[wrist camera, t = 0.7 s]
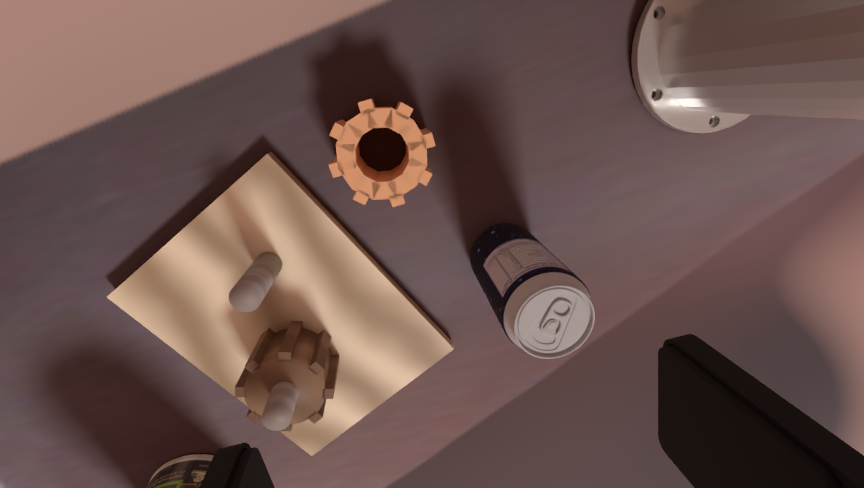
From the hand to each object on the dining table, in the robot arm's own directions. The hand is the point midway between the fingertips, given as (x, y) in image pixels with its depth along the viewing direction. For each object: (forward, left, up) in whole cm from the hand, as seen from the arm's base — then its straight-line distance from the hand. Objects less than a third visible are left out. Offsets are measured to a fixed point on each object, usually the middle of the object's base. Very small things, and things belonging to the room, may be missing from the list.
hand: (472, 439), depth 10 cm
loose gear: (-1, -4, -25) cm, 26 cm away
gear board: (+14, +2, -25) cm, 29 cm away
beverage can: (-3, +9, -26) cm, 27 cm away
